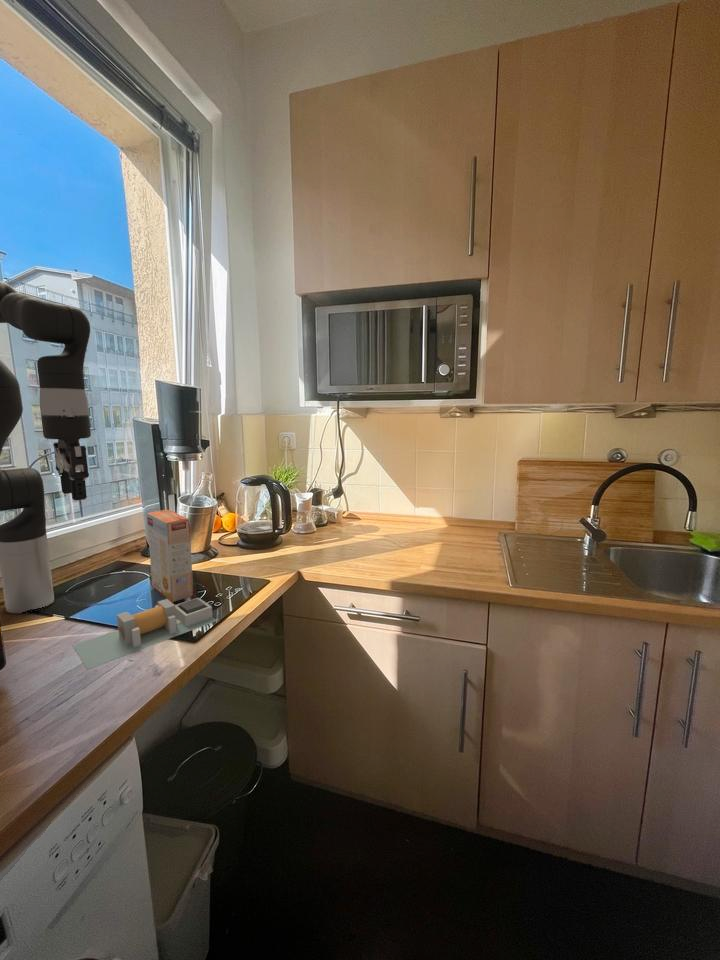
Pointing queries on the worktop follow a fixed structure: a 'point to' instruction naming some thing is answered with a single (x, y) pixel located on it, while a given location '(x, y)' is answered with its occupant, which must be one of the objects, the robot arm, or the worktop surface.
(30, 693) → the worktop surface
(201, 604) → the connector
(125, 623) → the tan and white bar
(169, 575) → the cracker box
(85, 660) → the board
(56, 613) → the worktop surface
